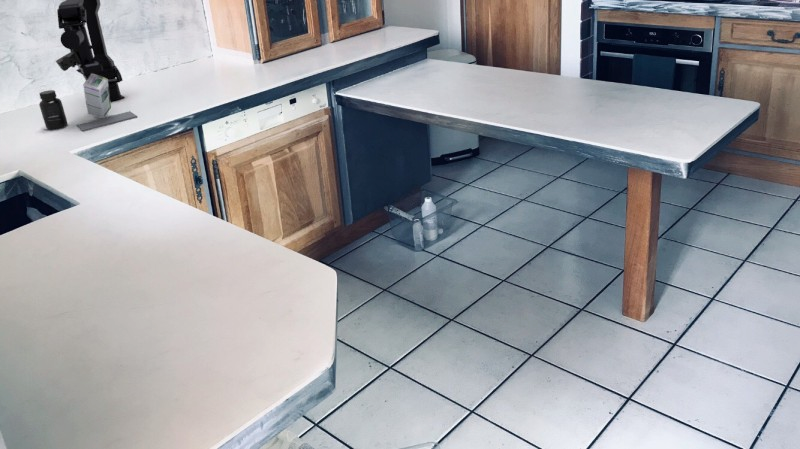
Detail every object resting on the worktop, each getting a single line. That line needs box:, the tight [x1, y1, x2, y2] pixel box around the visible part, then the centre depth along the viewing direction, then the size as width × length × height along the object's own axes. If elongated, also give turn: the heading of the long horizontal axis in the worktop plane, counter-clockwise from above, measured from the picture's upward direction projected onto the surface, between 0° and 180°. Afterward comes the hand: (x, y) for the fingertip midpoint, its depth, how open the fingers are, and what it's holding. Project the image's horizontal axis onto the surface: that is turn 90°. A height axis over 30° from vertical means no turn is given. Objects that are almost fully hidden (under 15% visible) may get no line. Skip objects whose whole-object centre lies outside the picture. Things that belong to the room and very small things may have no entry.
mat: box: [76, 110, 138, 132], centre depth 244 cm, size 8×18×1 cm, turn 125°
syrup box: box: [82, 73, 112, 119], centre depth 243 cm, size 6×6×14 cm
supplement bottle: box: [38, 89, 69, 131], centre depth 242 cm, size 7×7×12 cm
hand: (93, 90), depth 245 cm, fingers closed
